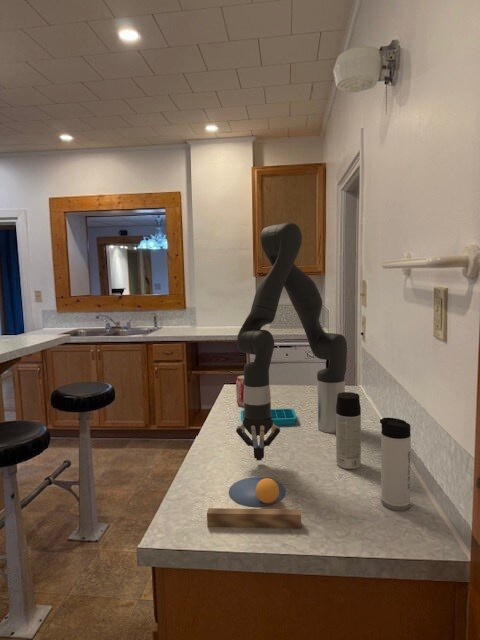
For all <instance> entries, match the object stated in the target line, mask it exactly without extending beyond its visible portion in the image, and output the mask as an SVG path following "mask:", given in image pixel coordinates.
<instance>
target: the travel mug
mask: <svg viewBox="0 0 480 640" xmlns="http://www.w3.org/2000/svg"><path fill="white" fill-rule="evenodd" d="M379 423H380V424H381V428H380V429H381V432H380V435H381V436H380V439H381V440H380V443H381V444H380V446H381V447H380V450H381V454H380V460H381V461H380V463H381V464H380V465H381V466H380V468H381V469H380V470H381V471H380V477H381V480H380V481H381V482H380V483H381V486H380V487H381V489H380V490H381V491H380V495H381V496H380V499H381V500H380V501H381V504H382V505H383V506H384V507H386V508H387V509H389V510H391V511H392V510H393V511H397V512H398V511H399V512H403V511H406V510H409V508H411V473H412V472H411V459H412V457H411V456H412V455H411V453H412V451H411V446H412V444H411V443H412V442H411V441H412V438H411V437H412V435H411V424H410V423H408V422H407V421H406V420H404V419H400V418H395V417H383V418H380V419H379Z"/></svg>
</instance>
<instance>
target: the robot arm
mask: <svg viewBox="0 0 480 640" xmlns="http://www.w3.org/2000/svg"><path fill="white" fill-rule="evenodd" d="M302 240H303V234H302V231H301V229H300V227H299V226H298V224H296V223H294V222H284V223H279V224H278V223H277V224H273V225H267V226H266V227H264V228H263V229H262V231H261V233H260V244H261V248H262V250H263V253H264V254H265V256H266V257H267V260H268V261H269V262H270V264H271V265H272V267H271V268H270V270H269V272H268V273H267V275H266V276H265V277H264V278H263V279H262V281H261V283H260V284H259V286H258V287H257V289H256V291H255V295H254V297H253V302H252V304H251V307H250V312H249V314H248V315H247V317H246V318H245V320H244V322H243V324H242V326H241V327H240V329H239V331H238V334H237V339H236V344H237V348H238V350H239V352H241V353H243V354H248V355H255V356H254V359H253V361H252V362H251V361H250V362H248V363H246V364H245V365H244V366H243V375H244V397H243V400H244V407H243V410H244V420H243V421H242V423H241V425H238V426H237V427H236V428H235V429H236V431H235V432H236V434H237V435H238V436H239V437H240V438H241V440H242V441H243V442H244V443H245V444H246V446H248V447H252V448H253V458H254V459H256V461H262V460H263V459H264V458H265V447H269V446H270V445H271V444H272V443H273V441H274V440H275V439H276V438H277V436H278V435H279V434H280V433H281V428H280V425H279V426H276V425H275V424H273V420H272V418H271V409H272V405H271V402H272V400H271V399H272V397H271V396H272V395H271V388H270V367H271V361H272V358H273V353H274V349H275V339H274V336H273V334H272V332H270V331H269V330H267V329H262V328H263V327H264V326H266V325H269V324H272V323H273V322H274V320H275V318H276V314H277V310H278V306H279V303H280V298H281V296H282V292H283V289H284V290H285V291H286V293H287V295H288V298H289V300H290V302H291V305H292V306H293V308H294V310H295V312H296V315H297V317H298V318H299V320H300V321H299V322H300V323H301V326H302V327H303V330H304V332H305V336H306V339H307V342H308V344H309V347H310V349H311V352H312V355H314V357H316V358H318V359H319V360H325V361H329V362H328V367H327V368H324V369H319V370H318V371H317V373H316V382H317V384H316V387H317V390H316V391H317V395H316V396H317V429H318V430H319V431H321V432H324V433H329V434H330V433H331V434H336V404H337V396H338V394H339V393H342V392H346V391H345V390H346V389H345V387H346V384H345V380H346V379H345V377H346V372H347V357H348V343H347V339H346V337H345V336H344V335H343V334H340V333H333V332H332V333H331V332H325V331H324V330H323V327H322V326H321V322H320V316H321V314H322V308H323V299H322V297H321V296H322V295H321V294H320V291H319V289H318V287H317V285H316V283H315V281H314V280H313V279H312V278H311V277H310V276H309V275H307V273H305V271H303V270H301V269H300V267H298V266H297V265H296V263H295V261H296V260H297V257H298V255H299V252H300V249H301V246H302V243H303V241H302ZM246 431H247V432H248V433H249V434H250V436H251V438H250V436H249V435H248V434H247V432H246ZM269 431H271V433H269V435H268V436H267V434H268V432H269ZM265 436H267V437H266V439H265ZM258 437H259V441H258Z"/></svg>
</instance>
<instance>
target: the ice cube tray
mask: <svg viewBox="0 0 480 640" xmlns="http://www.w3.org/2000/svg"><path fill="white" fill-rule="evenodd" d="M271 418H272V420H273V424H275V425H276V426H279V427H280V426H292V425H293V426H294V425H296V424H295V423H296V420H297V419H298V416H297V414H296V411H295V410H294V408H271ZM243 420H244V409H242V410H241V411H240V422H241V421H242V422H243Z"/></svg>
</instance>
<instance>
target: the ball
mask: <svg viewBox="0 0 480 640" xmlns="http://www.w3.org/2000/svg"><path fill="white" fill-rule="evenodd" d="M264 478H265V479H262V480H261V481H259V482H258V484H257V486H256V495H257V497H258V499H259V500H260V501H261V502H263V503H272V502H274V501H275V500H276V499H277V497H278V495H279V487H278V485H277V483H276V482H275V481H274V480H275V479H273V480H272V478H270V479H269V478H268V477H264Z"/></svg>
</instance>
